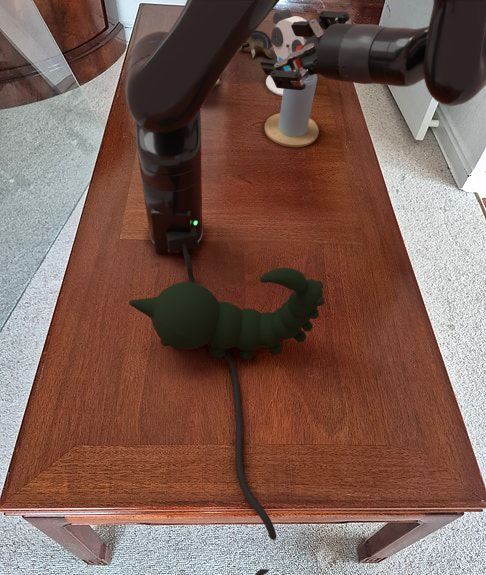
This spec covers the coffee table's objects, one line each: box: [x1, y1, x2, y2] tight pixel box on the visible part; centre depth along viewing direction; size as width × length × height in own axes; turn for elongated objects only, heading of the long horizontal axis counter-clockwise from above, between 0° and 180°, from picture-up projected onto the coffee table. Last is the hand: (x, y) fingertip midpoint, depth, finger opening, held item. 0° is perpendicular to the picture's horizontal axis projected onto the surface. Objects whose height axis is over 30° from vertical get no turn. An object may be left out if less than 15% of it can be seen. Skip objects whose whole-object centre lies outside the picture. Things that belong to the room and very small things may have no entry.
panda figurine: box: [265, 8, 309, 97], centre depth 107 cm, size 12×11×15 cm
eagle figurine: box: [240, 29, 275, 59], centre depth 118 cm, size 8×7×9 cm
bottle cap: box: [294, 45, 303, 68], centre depth 89 cm, size 4×4×4 cm
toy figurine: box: [128, 267, 326, 361], centre depth 62 cm, size 9×19×25 cm
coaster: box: [264, 112, 320, 148], centre depth 102 cm, size 12×12×1 cm
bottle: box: [278, 68, 318, 137], centre depth 95 cm, size 6×6×17 cm
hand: (278, 47), depth 77 cm, fingers open, 8 cm apart
